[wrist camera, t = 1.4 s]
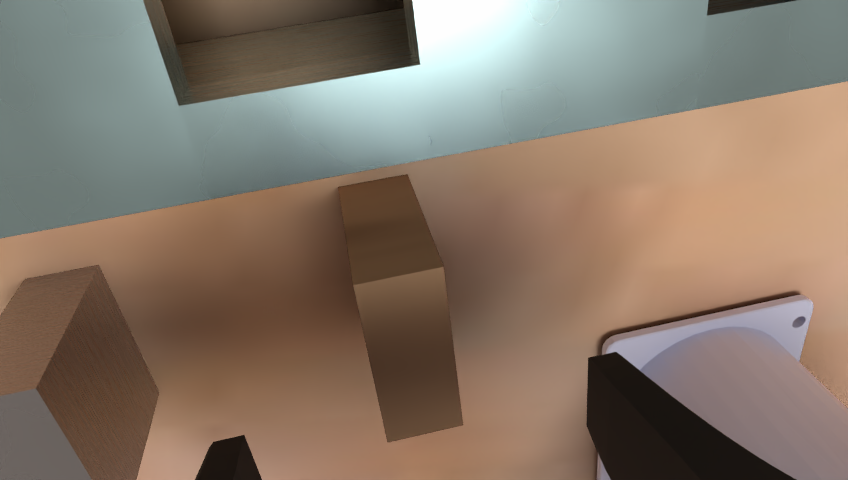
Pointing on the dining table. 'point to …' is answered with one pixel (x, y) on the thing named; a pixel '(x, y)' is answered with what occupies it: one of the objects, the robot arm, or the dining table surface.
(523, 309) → the dining table surface
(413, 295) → the block
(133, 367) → the grey tall block
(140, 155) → the toaster
